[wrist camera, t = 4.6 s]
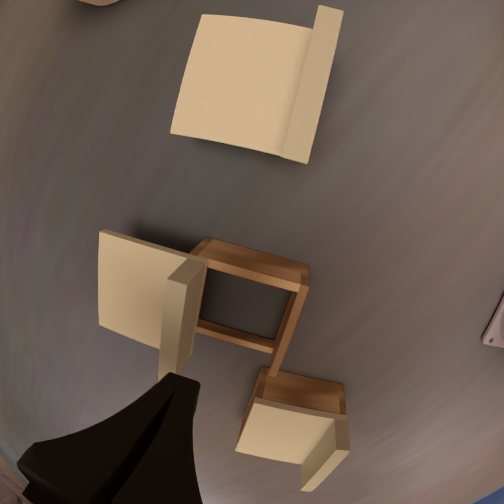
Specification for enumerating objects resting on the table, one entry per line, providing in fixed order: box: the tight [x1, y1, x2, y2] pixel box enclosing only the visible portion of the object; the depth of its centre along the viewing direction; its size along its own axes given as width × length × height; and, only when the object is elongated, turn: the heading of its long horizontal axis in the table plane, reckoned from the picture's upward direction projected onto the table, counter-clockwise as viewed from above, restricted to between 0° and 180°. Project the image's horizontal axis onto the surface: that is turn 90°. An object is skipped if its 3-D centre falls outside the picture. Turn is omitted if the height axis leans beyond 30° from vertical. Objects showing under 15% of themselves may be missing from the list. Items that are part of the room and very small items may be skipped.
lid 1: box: [98, 229, 208, 382], centre depth 16 cm, size 7×7×3 cm
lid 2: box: [170, 5, 343, 164], centre depth 11 cm, size 7×7×3 cm
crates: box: [189, 237, 346, 443], centre depth 18 cm, size 15×29×3 cm, turn 166°
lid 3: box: [235, 397, 350, 492], centre depth 18 cm, size 7×7×3 cm
